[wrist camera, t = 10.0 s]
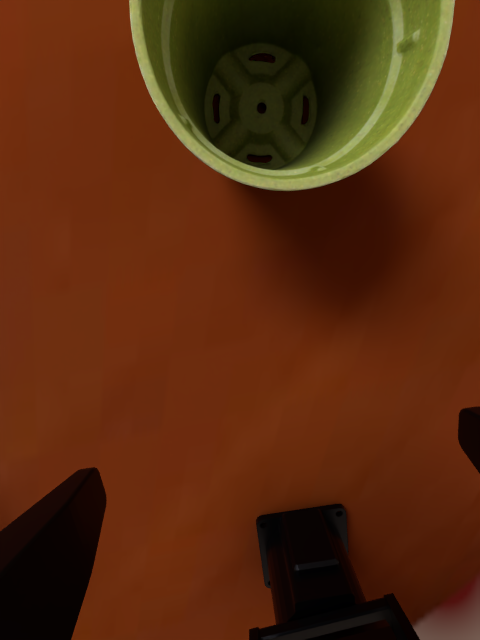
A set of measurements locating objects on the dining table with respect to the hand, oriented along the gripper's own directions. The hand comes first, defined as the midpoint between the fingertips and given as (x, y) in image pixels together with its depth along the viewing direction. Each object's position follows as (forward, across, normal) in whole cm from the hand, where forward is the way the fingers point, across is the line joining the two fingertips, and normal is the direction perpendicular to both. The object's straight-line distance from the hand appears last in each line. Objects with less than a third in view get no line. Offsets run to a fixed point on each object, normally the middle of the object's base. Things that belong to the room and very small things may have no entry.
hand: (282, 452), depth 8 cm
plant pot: (+13, -2, -11) cm, 17 cm away
